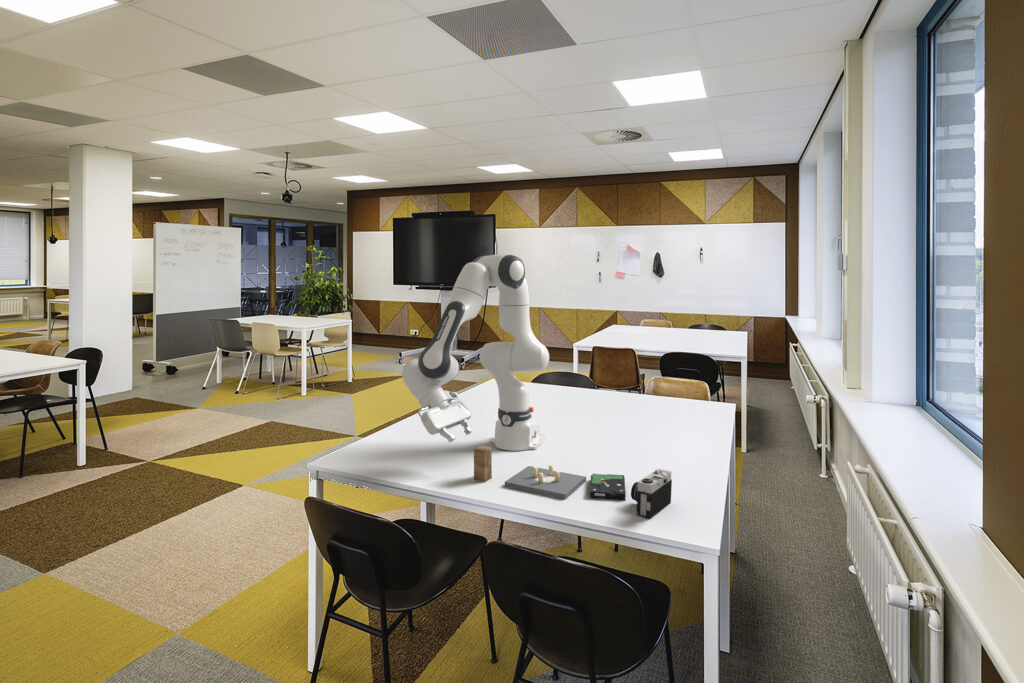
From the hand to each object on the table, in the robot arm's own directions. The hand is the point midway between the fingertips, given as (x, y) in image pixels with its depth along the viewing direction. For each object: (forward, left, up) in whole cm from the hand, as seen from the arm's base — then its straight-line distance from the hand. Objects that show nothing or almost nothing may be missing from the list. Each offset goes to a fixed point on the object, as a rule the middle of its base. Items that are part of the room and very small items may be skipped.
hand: (461, 436), depth 177 cm
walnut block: (0, +8, -13) cm, 15 cm away
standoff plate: (-6, +27, -12) cm, 30 cm away
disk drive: (-11, +45, -13) cm, 48 cm away
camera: (-5, +59, -13) cm, 61 cm away
